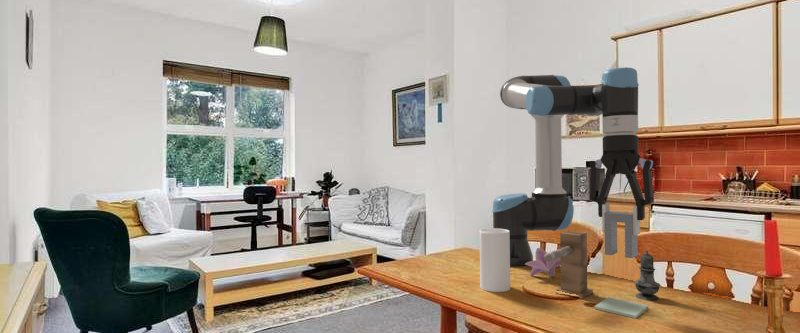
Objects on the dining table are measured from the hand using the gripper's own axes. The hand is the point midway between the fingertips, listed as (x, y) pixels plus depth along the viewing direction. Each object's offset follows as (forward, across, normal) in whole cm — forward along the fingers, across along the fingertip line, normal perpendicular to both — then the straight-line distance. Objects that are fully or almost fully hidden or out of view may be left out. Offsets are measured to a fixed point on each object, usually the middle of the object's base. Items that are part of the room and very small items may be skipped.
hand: (621, 232), depth 101 cm
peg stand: (+18, -13, -2) cm, 23 cm away
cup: (+18, -31, -6) cm, 37 cm away
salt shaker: (+18, +2, +13) cm, 23 cm away
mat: (+18, 0, 0) cm, 18 cm away
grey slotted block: (+5, 0, 0) cm, 5 cm away
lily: (+18, -24, +11) cm, 33 cm away
